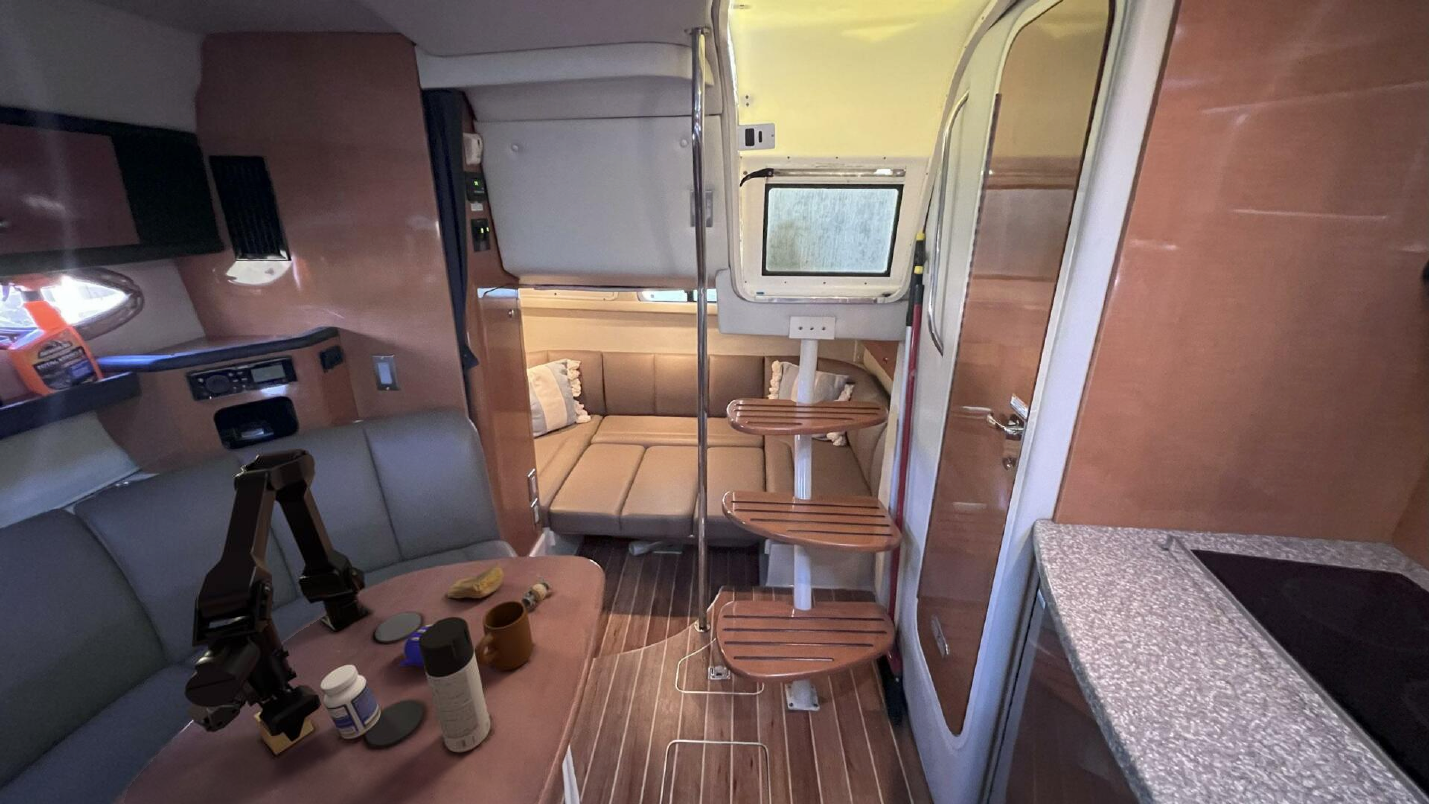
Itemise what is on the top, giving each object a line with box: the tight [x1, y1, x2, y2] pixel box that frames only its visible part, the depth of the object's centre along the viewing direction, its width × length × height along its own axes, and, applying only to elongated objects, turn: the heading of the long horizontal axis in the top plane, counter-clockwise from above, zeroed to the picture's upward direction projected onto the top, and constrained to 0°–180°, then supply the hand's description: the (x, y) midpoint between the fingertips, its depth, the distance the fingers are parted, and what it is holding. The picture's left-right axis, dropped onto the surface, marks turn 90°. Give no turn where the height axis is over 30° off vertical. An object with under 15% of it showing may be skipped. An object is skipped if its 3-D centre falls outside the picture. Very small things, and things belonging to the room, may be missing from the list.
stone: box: [447, 564, 505, 599], centre depth 116 cm, size 9×5×10 cm
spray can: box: [419, 616, 491, 753], centre depth 80 cm, size 7×7×20 cm
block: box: [253, 710, 314, 756], centre depth 83 cm, size 5×5×5 cm
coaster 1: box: [374, 611, 422, 644], centre depth 106 cm, size 8×8×1 cm
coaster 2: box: [365, 700, 424, 748], centre depth 85 cm, size 8×8×1 cm
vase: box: [521, 573, 555, 609], centre depth 111 cm, size 5×5×6 cm
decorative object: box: [398, 624, 433, 667], centre depth 97 cm, size 10×6×10 cm
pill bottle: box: [320, 664, 382, 740], centre depth 83 cm, size 6×6×10 cm
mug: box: [474, 600, 534, 671], centre depth 95 cm, size 12×8×9 cm, turn 165°
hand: (286, 729), depth 84 cm, fingers open, 6 cm apart
